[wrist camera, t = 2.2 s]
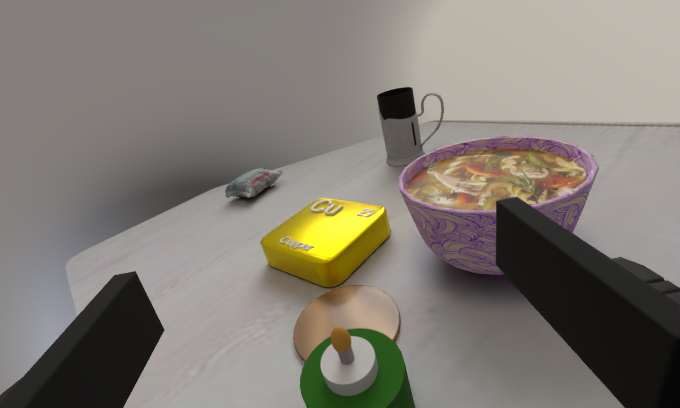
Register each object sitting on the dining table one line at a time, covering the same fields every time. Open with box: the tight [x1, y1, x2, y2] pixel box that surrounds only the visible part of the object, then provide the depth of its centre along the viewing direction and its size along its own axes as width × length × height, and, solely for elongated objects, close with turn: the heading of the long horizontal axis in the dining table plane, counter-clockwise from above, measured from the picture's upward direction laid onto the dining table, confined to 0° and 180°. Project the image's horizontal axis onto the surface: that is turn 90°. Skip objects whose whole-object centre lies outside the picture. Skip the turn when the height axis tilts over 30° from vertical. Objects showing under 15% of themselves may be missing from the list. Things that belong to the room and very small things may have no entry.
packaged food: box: [226, 168, 282, 198], centre depth 82 cm, size 9×12×5 cm
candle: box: [300, 326, 415, 408], centre depth 27 cm, size 8×8×10 cm
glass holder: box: [377, 87, 444, 166], centre depth 75 cm, size 9×14×15 cm, turn 60°
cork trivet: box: [294, 285, 400, 362], centre depth 39 cm, size 12×12×1 cm
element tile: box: [261, 198, 391, 287], centre depth 53 cm, size 15×15×5 cm
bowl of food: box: [398, 136, 599, 275], centre depth 41 cm, size 20×20×12 cm
